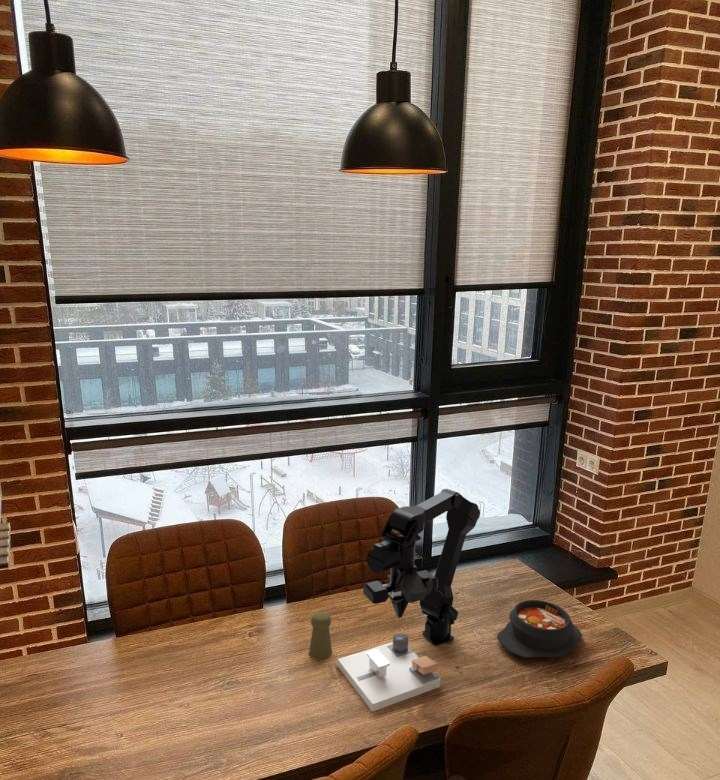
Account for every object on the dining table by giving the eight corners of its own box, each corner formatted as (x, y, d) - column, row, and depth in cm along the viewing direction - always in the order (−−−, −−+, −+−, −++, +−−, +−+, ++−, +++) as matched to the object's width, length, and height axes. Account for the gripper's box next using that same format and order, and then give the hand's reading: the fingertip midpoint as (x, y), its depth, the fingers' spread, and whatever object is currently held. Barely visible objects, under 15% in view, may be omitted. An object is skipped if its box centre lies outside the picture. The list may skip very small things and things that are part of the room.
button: (402, 641, 164) (403, 631, 163) (410, 650, 160) (411, 640, 160) (389, 645, 162) (390, 635, 161) (397, 654, 158) (398, 644, 158)
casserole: (547, 613, 184) (549, 587, 182) (597, 647, 168) (601, 620, 166) (481, 635, 172) (483, 608, 170) (529, 675, 156) (532, 645, 154)
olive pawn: (328, 661, 159) (329, 622, 156) (306, 657, 160) (306, 619, 157) (334, 647, 164) (335, 609, 162) (312, 643, 166) (313, 606, 163)
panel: (400, 645, 166) (401, 637, 165) (440, 686, 150) (440, 677, 150) (337, 666, 157) (337, 657, 156) (372, 711, 141) (372, 701, 141)
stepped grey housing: (376, 662, 155) (377, 649, 154) (389, 676, 150) (389, 663, 149) (366, 665, 153) (366, 652, 153) (378, 679, 148) (379, 666, 148)
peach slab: (426, 661, 154) (425, 655, 154) (437, 669, 150) (437, 663, 150) (411, 666, 152) (411, 660, 152) (422, 674, 148) (422, 668, 148)
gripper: (386, 582, 141) (382, 643, 144) (452, 567, 150) (448, 625, 153) (363, 561, 151) (360, 619, 154) (427, 548, 159) (423, 603, 162)
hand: (399, 617), depth 156 cm, fingers closed
